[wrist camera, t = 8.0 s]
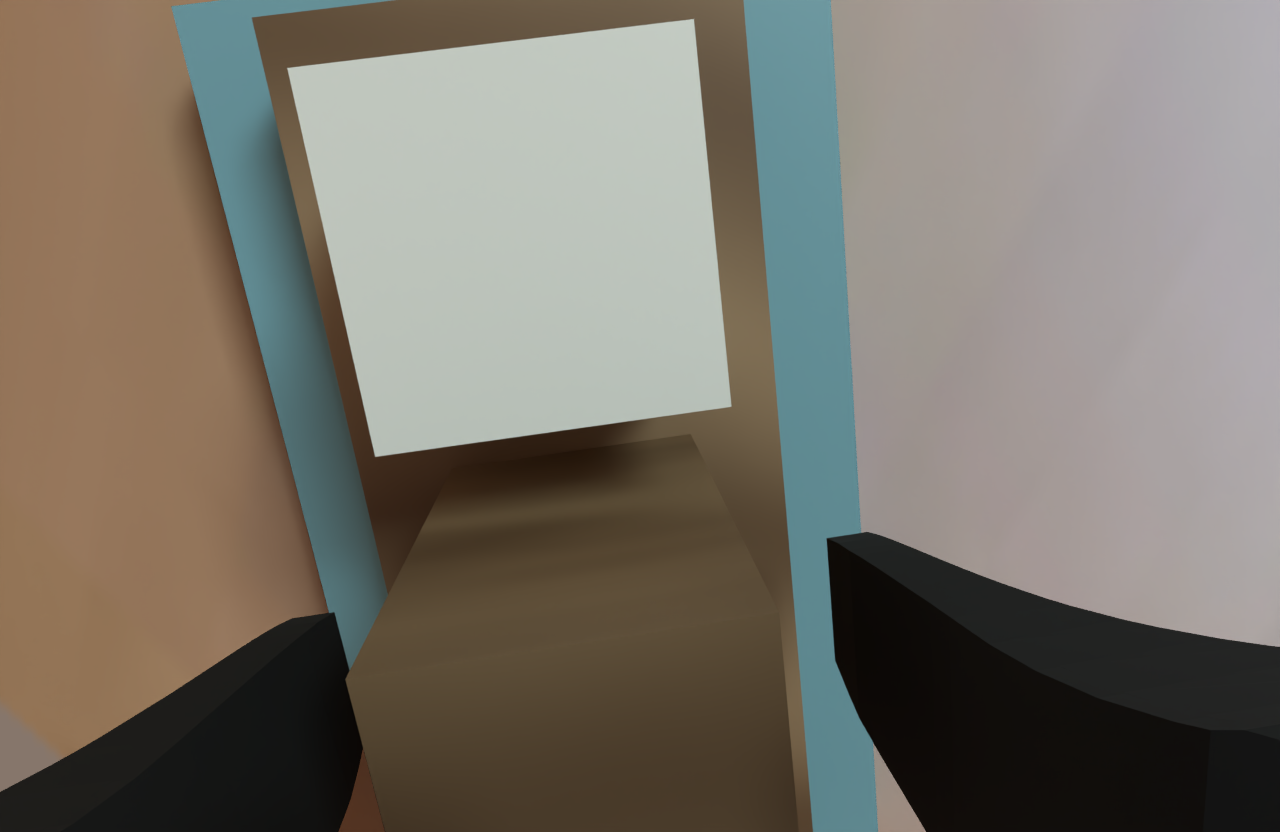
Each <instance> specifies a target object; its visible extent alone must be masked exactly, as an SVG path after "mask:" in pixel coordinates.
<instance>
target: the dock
mask: <svg viewBox="0 0 1280 832" xmlns="http://www.w3.org/2000/svg"><path fill="white" fill-rule="evenodd" d="M384 1H392V0H220V1H212V2H204V3H195V4H187V5H179V6H171V7H172V11H173V15H174V18H175V22H176V26H177V30H178V34H179V38H180V41H181V45H182V49H183V53H184V57H185V61H186V64H187V68H188V72H189V76H190V80H191V84H192V88H193V91H194V95H195V99H196V103H197V107H198V111H199V114H200V118H201V122H202V126H203V130H204V134H205V138H206V141H207V145H208V149H209V153H210V157H211V161H212V164H213V168H214V172H215V176H216V180H217V184H218V187H219V191H220V195H221V199H222V203H223V207H224V211H225V214H226V218H227V222H228V226H229V230H230V234H231V237H232V241H233V245H234V249H235V253H236V257H237V261H238V264H239V268H240V272H241V276H242V280H243V284H244V287H245V291H246V295H247V299H248V303H249V307H250V310H251V314H252V318H253V322H254V326H255V330H256V334H257V337H258V341H259V345H260V349H261V353H262V357H263V360H264V364H265V368H266V372H267V376H268V380H269V383H270V387H271V391H272V395H273V399H274V403H275V407H276V410H277V414H278V418H279V422H280V426H281V430H282V433H283V437H284V441H285V445H286V449H287V453H288V457H289V460H290V464H291V468H292V472H293V476H294V480H295V483H296V487H297V491H298V495H299V499H300V503H301V506H302V510H303V514H304V518H305V522H306V526H307V530H308V533H309V537H310V541H311V545H312V549H313V553H314V556H315V560H316V564H317V568H318V572H319V576H320V580H321V583H322V587H323V591H324V595H325V599H326V603H327V606H328V610H329V613H332V612H335V616H336V620H337V624H338V628H339V631H340V635H341V639H342V643H343V647H344V651H345V655H346V659H347V662H348V666H349V670H350V669H351V667H352V665H353V663H354V661H355V659H356V657H357V655H358V653H359V651H360V649H361V647H362V645H363V643H364V641H365V640H366V638H367V636H368V634H369V632H370V630H371V628H372V626H373V624H374V622H375V620H376V618H377V616H378V614H379V612H380V610H381V608H382V606H383V604H384V602H385V600H386V598H387V596H388V593H387V589H386V585H385V580H384V576H383V572H382V568H381V563H380V559H379V555H378V551H377V547H376V542H375V538H374V534H373V530H372V525H371V521H370V517H369V513H368V508H367V504H366V500H365V496H364V491H363V487H362V483H361V479H360V475H359V470H358V466H357V462H356V458H355V453H354V449H353V445H352V441H351V436H350V432H349V428H348V424H347V420H346V415H345V411H344V407H343V403H342V398H341V394H340V390H339V386H338V381H337V377H336V373H335V369H334V364H333V360H332V356H331V352H330V348H329V343H328V339H327V335H326V331H325V326H324V322H323V318H322V314H321V309H320V305H319V301H318V297H317V293H316V288H315V284H314V280H313V276H312V271H311V267H310V263H309V259H308V254H307V250H306V246H305V242H304V237H303V233H302V229H301V225H300V221H299V216H298V212H297V208H296V204H295V199H294V195H293V191H292V187H291V182H290V178H289V174H288V170H287V166H286V161H285V157H284V153H283V149H282V144H281V140H280V136H279V132H278V127H277V123H276V119H275V115H274V110H273V106H272V102H271V98H270V94H269V89H268V85H267V81H266V77H265V72H264V68H263V64H262V60H261V55H260V51H259V47H258V43H257V39H256V34H255V30H254V26H253V22H252V17H260V16H268V15H276V14H285V13H293V12H301V11H309V10H318V9H326V8H334V7H342V6H351V5H359V4H367V3H376V2H384ZM743 1H744V13H745V25H746V36H747V48H748V60H749V72H750V84H751V96H752V108H753V120H754V132H755V144H756V156H757V168H758V180H759V192H760V204H761V216H762V228H763V240H764V251H765V263H766V275H767V287H768V299H769V311H770V323H771V335H772V347H773V359H774V371H775V383H776V395H777V407H778V419H779V431H780V443H781V455H782V466H783V478H784V490H785V502H786V514H787V526H788V538H789V550H790V562H791V574H792V586H793V598H794V610H795V622H796V634H797V646H798V658H799V670H800V681H801V693H802V705H803V717H804V729H805V741H806V753H807V765H808V777H809V789H810V801H811V813H812V825H813V832H878V823H877V806H876V788H875V770H874V753H873V741H872V740H871V738H870V736H869V734H868V733H867V731H866V729H865V727H864V726H863V724H862V722H861V720H860V719H859V717H858V714H857V712H856V710H855V707H854V705H853V703H852V700H851V698H850V696H849V694H848V691H847V689H846V686H845V684H844V681H843V679H842V676H841V674H840V672H839V669H838V667H837V664H836V662H835V653H834V638H833V624H832V610H831V595H830V581H829V567H828V552H827V538H831V537H837V536H844V535H851V534H857V533H861V525H860V507H859V490H858V472H857V455H856V437H855V420H854V402H853V384H852V367H851V349H850V332H849V314H848V297H847V279H846V262H845V244H844V227H843V209H842V191H841V174H840V156H839V139H838V121H837V104H836V86H835V69H834V51H833V34H832V16H831V0H743Z"/></svg>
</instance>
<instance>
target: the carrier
mask: <svg viewBox="0 0 1280 832" xmlns="http://www.w3.org/2000/svg"><path fill="white" fill-rule="evenodd" d="M690 19H694V26H695V36H696V46H697V56H698V67H699V77H700V87H701V98H702V108H703V118H704V129H705V139H706V149H707V159H708V170H709V180H710V190H711V201H712V211H713V221H714V232H715V242H716V252H717V262H718V273H719V283H720V293H721V304H722V314H723V324H724V335H725V345H726V355H727V365H728V376H729V386H730V396H731V407H726V408H719V409H712V410H705V411H698V412H691V413H684V414H677V415H669V416H662V417H655V418H648V419H641V420H634V421H627V422H620V423H613V424H605V425H598V426H591V427H584V428H577V429H570V430H563V431H556V432H548V433H541V434H534V435H527V436H520V437H513V438H506V439H499V440H492V441H484V442H477V443H470V444H463V445H456V446H449V447H442V448H435V449H427V450H420V451H413V452H406V453H399V454H392V455H385V456H378V457H375V454H374V449H373V445H372V441H371V436H370V432H369V427H368V423H367V419H366V414H365V410H364V405H363V401H362V396H361V392H360V388H359V383H358V379H357V374H356V370H355V365H354V361H353V357H352V352H351V348H350V343H349V339H348V335H347V330H346V326H345V321H344V317H343V312H342V308H341V304H340V299H339V295H338V290H337V286H336V281H335V277H334V273H333V268H332V264H331V259H330V255H329V251H328V246H327V242H326V237H325V233H324V228H323V224H322V220H321V215H320V211H319V206H318V202H317V197H316V193H315V189H314V184H313V180H312V175H311V171H310V167H309V162H308V158H307V153H306V149H305V144H304V140H303V136H302V131H301V127H300V122H299V118H298V113H297V109H296V105H295V100H294V96H293V91H292V87H291V83H290V78H289V74H288V69H287V68H292V67H300V66H308V65H316V64H325V63H333V62H341V61H350V60H358V59H366V58H375V57H383V56H391V55H399V54H408V53H416V52H424V51H433V50H441V49H449V48H458V47H466V46H474V45H482V44H491V43H499V42H507V41H516V40H524V39H532V38H540V37H549V36H557V35H565V34H574V33H582V32H590V31H599V30H607V29H615V28H623V27H632V26H640V25H648V24H657V23H665V22H673V21H682V20H690ZM252 22H253V26H254V30H255V34H256V39H257V43H258V47H259V51H260V55H261V60H262V64H263V68H264V72H265V77H266V81H267V85H268V89H269V94H270V98H271V102H272V106H273V110H274V115H275V119H276V123H277V127H278V132H279V136H280V140H281V144H282V149H283V153H284V157H285V161H286V166H287V170H288V174H289V178H290V182H291V187H292V191H293V195H294V199H295V204H296V208H297V212H298V216H299V221H300V225H301V229H302V233H303V237H304V242H305V246H306V250H307V254H308V259H309V263H310V267H311V271H312V276H313V280H314V284H315V288H316V293H317V297H318V301H319V305H320V309H321V314H322V318H323V322H324V326H325V331H326V335H327V339H328V343H329V348H330V352H331V356H332V360H333V364H334V369H335V373H336V377H337V381H338V386H339V390H340V394H341V398H342V403H343V407H344V411H345V415H346V420H347V424H348V428H349V432H350V436H351V441H352V445H353V449H354V453H355V458H356V462H357V466H358V470H359V475H360V479H361V483H362V487H363V491H364V496H365V500H366V504H367V508H368V513H369V517H370V521H371V525H372V530H373V534H374V538H375V542H376V547H377V551H378V555H379V559H380V563H381V568H382V572H383V576H384V580H385V585H386V589H387V593H388V596H387V598H386V600H385V602H384V604H383V606H382V608H381V610H380V612H379V614H378V616H377V618H376V620H375V622H374V624H373V626H372V628H371V630H370V632H369V634H368V636H367V638H366V640H365V641H364V643H363V645H362V647H361V649H360V651H359V653H358V655H357V657H356V659H355V661H354V663H353V665H352V667H351V669H350V671H349V673H348V675H347V677H346V679H345V680H346V684H347V688H348V691H349V695H350V699H351V703H352V707H353V711H354V714H355V718H356V722H357V726H358V730H359V734H360V737H361V741H362V745H363V749H364V753H365V757H366V760H367V764H368V768H369V772H370V776H371V780H372V784H373V787H374V791H375V795H376V799H377V803H378V807H379V810H380V814H381V818H382V822H383V826H384V830H385V832H813V825H812V813H811V801H810V789H809V777H808V765H807V753H806V741H805V729H804V717H803V705H802V693H801V681H800V670H799V658H798V646H797V634H796V622H795V610H794V598H793V586H792V574H791V562H790V550H789V538H788V526H787V514H786V502H785V490H784V478H783V466H782V455H781V443H780V431H779V419H778V407H777V395H776V383H775V371H774V359H773V347H772V335H771V323H770V311H769V299H768V287H767V275H766V263H765V251H764V240H763V228H762V216H761V204H760V192H759V180H758V168H757V156H756V144H755V132H754V120H753V108H752V96H751V84H750V72H749V60H748V48H747V36H746V25H745V13H744V1H743V0H392V1H384V2H376V3H367V4H359V5H351V6H342V7H334V8H326V9H318V10H309V11H301V12H293V13H285V14H276V15H268V16H260V17H252Z"/></svg>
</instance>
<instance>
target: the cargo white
mask: <svg viewBox="0 0 1280 832" xmlns="http://www.w3.org/2000/svg"><path fill="white" fill-rule="evenodd" d="M287 69H288V74H289V78H290V83H291V87H292V91H293V96H294V100H295V105H296V109H297V113H298V118H299V122H300V127H301V131H302V136H303V140H304V144H305V149H306V153H307V158H308V162H309V167H310V171H311V175H312V180H313V184H314V189H315V193H316V197H317V202H318V206H319V211H320V215H321V220H322V224H323V228H324V233H325V237H326V242H327V246H328V251H329V255H330V259H331V264H332V268H333V273H334V277H335V281H336V286H337V290H338V295H339V299H340V304H341V308H342V312H343V317H344V321H345V326H346V330H347V335H348V339H349V343H350V348H351V352H352V357H353V361H354V365H355V370H356V374H357V379H358V383H359V388H360V392H361V396H362V401H363V405H364V410H365V414H366V419H367V423H368V427H369V432H370V436H371V441H372V445H373V449H374V454H375V457H378V456H385V455H392V454H399V453H406V452H413V451H420V450H427V449H435V448H442V447H449V446H456V445H463V444H470V443H477V442H484V441H492V440H499V439H506V438H513V437H520V436H527V435H534V434H541V433H548V432H556V431H563V430H570V429H577V428H584V427H591V426H598V425H605V424H613V423H620V422H627V421H634V420H641V419H648V418H655V417H662V416H669V415H677V414H684V413H691V412H698V411H705V410H712V409H719V408H726V407H731V396H730V386H729V376H728V365H727V355H726V345H725V335H724V324H723V314H722V304H721V293H720V283H719V273H718V262H717V252H716V242H715V232H714V221H713V211H712V201H711V190H710V180H709V170H708V159H707V149H706V139H705V129H704V118H703V108H702V98H701V87H700V77H699V67H698V56H697V46H696V36H695V26H694V19H690V20H682V21H673V22H665V23H657V24H648V25H640V26H632V27H623V28H615V29H607V30H599V31H590V32H582V33H574V34H565V35H557V36H549V37H540V38H532V39H524V40H516V41H507V42H499V43H491V44H482V45H474V46H466V47H458V48H449V49H441V50H433V51H424V52H416V53H408V54H399V55H391V56H383V57H375V58H366V59H358V60H350V61H341V62H333V63H325V64H316V65H308V66H300V67H292V68H287Z"/></svg>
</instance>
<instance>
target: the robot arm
mask: <svg viewBox="0 0 1280 832" xmlns="http://www.w3.org/2000/svg"><path fill="white" fill-rule="evenodd" d="M827 552H828V567H829V581H830V595H831V610H832V624H833V638H834V653H835V662H836V664H837V667H838V669H839V672H840V674H841V676H842V679H843V681H844V684H845V686H846V689H847V691H848V694H849V696H850V698H851V700H852V703H853V705H854V707H855V710H856V712H857V714H858V717H859V719H860V720H861V722H862V724H863V726H864V727H865V729H866V731H867V733H868V734H869V736H870V738H871V740H872V741H873V743H874V745H875V746H876V748H877V750H878V752H879V753H880V755H881V757H882V758H883V760H884V762H885V763H886V765H887V767H888V769H889V770H890V772H891V774H892V775H893V777H894V779H895V780H896V782H897V784H898V785H899V787H900V789H901V790H902V792H903V794H904V795H905V797H906V799H907V800H908V802H909V804H910V805H911V807H912V809H913V810H914V812H915V814H916V815H917V817H918V819H919V820H920V822H921V824H922V825H923V827H924V829H925V831H926V832H1280V647H1275V646H1267V645H1260V644H1253V643H1246V642H1239V641H1232V640H1225V639H1219V638H1213V637H1208V636H1202V635H1197V634H1192V633H1186V632H1181V631H1175V630H1170V629H1165V628H1159V627H1154V626H1150V625H1145V624H1140V623H1136V622H1131V621H1127V620H1123V619H1119V618H1115V617H1111V616H1107V615H1103V614H1100V613H1096V612H1092V611H1088V610H1084V609H1080V608H1077V607H1073V606H1069V605H1066V604H1062V603H1059V602H1056V601H1052V600H1049V599H1046V598H1043V597H1040V596H1037V595H1034V594H1031V593H1028V592H1025V591H1022V590H1019V589H1016V588H1013V587H1011V586H1008V585H1005V584H1002V583H999V582H996V581H994V580H991V579H988V578H986V577H983V576H980V575H978V574H975V573H973V572H970V571H968V570H965V569H962V568H960V567H958V566H955V565H953V564H950V563H948V562H945V561H943V560H940V559H938V558H935V557H933V556H931V555H928V554H926V553H923V552H921V551H919V550H916V549H914V548H911V547H909V546H906V545H904V544H901V543H899V542H896V541H894V540H891V539H889V538H886V537H883V536H880V535H877V534H873V533H869V532H864V533H857V534H851V535H844V536H837V537H831V538H827ZM349 671H350V670H349V666H348V662H347V659H346V655H345V651H344V647H343V643H342V639H341V635H340V631H339V628H338V624H337V620H336V616H335V612H332V613H326V614H319V615H312V616H306V617H299V618H292V619H290V620H288V621H286V622H284V623H281V624H279V625H278V626H276V627H274V628H272V629H270V630H269V631H267V632H265V633H264V634H262V635H260V636H259V637H257V638H255V639H254V640H252V641H251V642H249V643H247V644H246V645H244V646H243V647H241V648H240V649H238V650H237V651H235V652H234V653H232V654H230V655H229V656H227V657H226V658H224V659H223V660H221V661H220V662H218V663H217V664H215V665H214V666H212V667H211V668H209V669H208V670H206V671H205V672H203V673H202V674H200V675H198V676H197V677H195V678H194V679H192V680H191V681H189V682H188V683H186V684H185V685H183V686H182V687H180V688H179V689H177V690H176V691H174V692H173V693H171V694H169V695H168V696H166V697H165V698H163V699H161V700H160V701H158V702H157V703H155V704H153V705H152V706H150V707H148V708H147V709H145V710H144V711H142V712H140V713H139V714H137V715H135V716H134V717H132V718H131V719H129V720H127V721H126V722H124V723H123V724H121V725H119V726H118V727H116V728H114V729H113V730H111V731H110V732H108V733H106V734H105V735H103V736H102V737H100V738H98V739H97V740H95V741H93V742H91V743H90V744H88V745H86V746H85V747H83V748H81V749H79V750H78V751H76V752H74V753H72V754H70V755H69V756H67V757H65V758H63V759H61V760H60V761H58V762H56V763H54V764H53V765H51V766H49V767H47V768H45V769H43V770H41V771H39V772H37V773H36V774H34V775H32V776H30V777H28V778H26V779H24V780H22V781H20V782H18V783H16V784H15V785H13V786H11V787H9V788H7V789H5V790H3V791H1V792H0V832H338V831H339V828H340V826H341V823H342V821H343V818H344V816H345V813H346V810H347V807H348V805H349V802H350V799H351V795H352V791H353V788H354V784H355V780H356V776H357V772H358V768H359V763H360V759H361V754H362V750H363V745H362V741H361V737H360V734H359V730H358V726H357V722H356V718H355V714H354V711H353V707H352V703H351V699H350V695H349V691H348V688H347V684H346V680H345V679H346V677H347V675H348V673H349Z"/></svg>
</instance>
